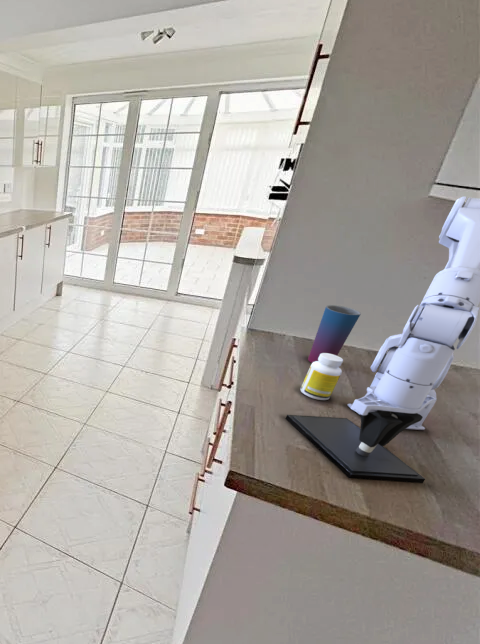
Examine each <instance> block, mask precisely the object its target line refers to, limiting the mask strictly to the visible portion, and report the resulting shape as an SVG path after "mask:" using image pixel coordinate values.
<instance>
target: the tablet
mask: <svg viewBox="0 0 480 644" xmlns="http://www.w3.org/2000/svg"><path fill="white" fill-rule="evenodd" d="M285 420H286V421H287V422H288V423H289V424H290V425H292V426H293V427H294V428H295V429H296V430H297V431H298V432H299V433H300V434H301V435H302V436H303V437H304V438H306V439H307V440H308V441H309V442H310V443H311V444H312V445H313V447H315V448H316V449H317V450H318V451H319V452H320V453H322V454H323V455H324V456H325V457H326V458H327V460H329V461H330V462H331V463H332V464H333V465H334V466H335V467H337V469H339V471H341V472H342V473H343V475H345V476H346V477H347V478H348V479H352V480H365V481H367V480H368V481H381V482H382V481H383V482H396V483H397V482H398V483H413V484H424V483H425V481H426V478H425V477H424V476H423V475H422V474H420V473H419V472H417V471H416V470H415V469H413V468H412V467H411V466H409V465H408V464H407V463H406V462H405V461H403V460H402V459H400V458H399V457H398V456H396V455H395V454H394V453H393V452H392V451H390V450H389V449H387V448H386V447H385V446H381V445H379V444H377V446H376V447H375V448H374V449H373V451H372V452H371V453H370V455H369V456H367V457H365V456H362V455H360V454H358V453H357V452H356V449H357V448H358V446H359V445H360V444H361V441H360V440H359V437H360V429H361V427H359V426H358V425H356V424H355V423H354V422H353V421H351V420H350V419H349V418H347V417H332V416H315V415H300V414H286V416H285Z"/></svg>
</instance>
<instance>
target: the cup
mask: <svg viewBox="0 0 480 644" xmlns="http://www.w3.org/2000/svg"><path fill="white" fill-rule="evenodd" d="M361 314H362V313H361V312H360V311H359V310H357V309H354V308H351V307H348V306H343V305H337V304H328V305H326V306H325V308H324V311H323V314H322V317H321V320H320V323H319V325H318V328H317V331H316V334H315V337H314V340H313V343H312V345H311V349H310V352H309V354H308V358H307V361H308V362H310V363H311V364H312V363H313V362H315V361H318V358H319V356H320V354H321V353H329V354H333V355H336V356H338V355H339V354H340V351H341V350H342V348H343V346H344V345H345V343H346V341H347V339H348V338H349V335H351V332H352V331H353V328H354V327H355V325H356V324H357V322H358V320H359V318H360V317H361Z"/></svg>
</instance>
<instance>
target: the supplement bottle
mask: <svg viewBox="0 0 480 644" xmlns="http://www.w3.org/2000/svg"><path fill="white" fill-rule="evenodd" d="M343 362H344V359H343V358H342V357H341V356H338V355H337V356H336V355H333V354H329V353H321V354H320V356H319V358H318V361H315V362H313V363H311V364H310V366H309V369H308V371H307V373H306V374H305V378H304V379H303V381H302V383H301V386H300V392H301V393H302V394H303V395H305V396H306V397H309V398H311V399H314V400H318V401H327V400H329V399H330V398H331V396H332V394H333V392H334V390H335V388H336V386H337V384H338V381H339V379H340V377H341V375H342V372H343V371H342V368H341V366H342V364H343Z"/></svg>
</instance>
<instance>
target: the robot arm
mask: <svg viewBox="0 0 480 644" xmlns="http://www.w3.org/2000/svg"><path fill="white" fill-rule="evenodd" d="M438 239H439V240H438V244H440V245H442V246H444V247H446V248H447V249H448V261H447V263H446V265H445V266H444V269H442V270H440V271H438V272H437V273H436V274H435V275H434V277H433V279H432V281H431V282H430V285H429V287H428V288H427V290H426V292H425V294H424V296H423V298H422V300H421V302H420V304H416V306H414V308H413V310H412V311H411V314H410V315H409V317H408V319H407V321H406V323H405V325H404V326H403V329H402V333H399V334H398V333H397V334H393V335H389V337H386V339H385V341H384V343H383V344H382V345H381V346H380V348H379V350H378V351H377V354H376V356H375V358H374V360H373V361H372V364H371V365H370V370H371V371H372V373H375V375H374V378H373V379H372V382H371V384H370V385H369V386H368V387H366V394H365V395H364V396H362V397H360V398H355V399H354V401H353V403H347V404H346V405H347V407H348V408H350V410H352V411H353V412H356V413H357V414H358V415H359V416H360V437H359V440H360V441H361V442H363V443H364V444H366V445H368V446H369V447H375V446H376V445H377V444H379V445H381V446H383V447H385V446H386V445H387V444H389V443H390V442H391V441H392V440H394V438H396V437H397V436H398V435H399V434H400V433H402V432H403V431H404V430H415V431H416V430H418V431H425V429H426V427H425V426H423V424H424V422H425V420H426V419H427V417H428V415H429V414H430V412H431V411H432V409H433V407H434V406H435V404H436V402H437V400H438V398H437V393H436V389H437V388H439V387H440V386H441V384H442V383H443V381H444V379H445V377H446V376H447V374H448V372H449V370H450V368H451V365H452V362H454V361H453V360H454V359H455V355H454V352H455V350H456V349H457V350H459V349H460V348H461V347H462V346H463V345H464V344H465V343H466V341H467V340H468V339H469V337H470V335H471V333H472V332H473V330H474V328H475V326H476V325H477V321H478V318H479V317H478V316H479V311H480V307H479V305H480V198H479V197H468V196H464V195H463V196H461V197H459V198H457V199H456V200H455V202H454V204H453V205H452V207H451V210H450V212H449V213H448V215H447V217H446V220H445V221H444V223H443V224H442V228H441V232H440V234H439V236H438ZM457 340H458V342H457ZM456 342H457V345H456V348H455V346H454V345H455V343H456ZM392 414H394V415H396V416H397V417H398V419H397V418H395V417H393V416H392Z"/></svg>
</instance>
